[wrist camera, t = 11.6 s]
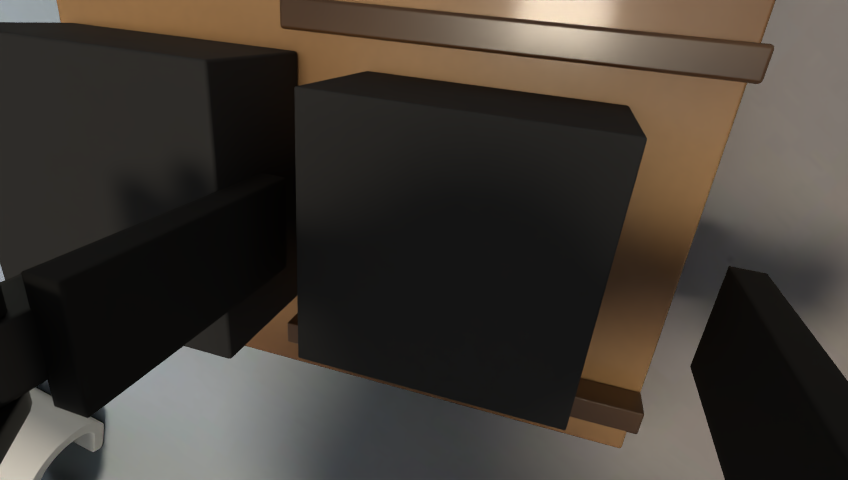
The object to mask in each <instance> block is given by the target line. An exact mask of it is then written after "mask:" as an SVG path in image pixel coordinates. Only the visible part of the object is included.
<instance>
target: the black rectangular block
mask: <svg viewBox="0 0 848 480" xmlns="http://www.w3.org/2000/svg"><path fill="white" fill-rule="evenodd" d="M294 98H295V167H296V236H297V305H298V357H299V358H302V359H305V360H309V361H313V362H316V363H320V364H324V365H327V366H331V367H335V368H338V369H342V370H346V371H349V372H353V373H356V374H360V375H364V376H367V377H371V378H375V379H378V380H382V381H386V382H389V383H393V384H397V385H400V386H404V387H408V388H411V389H415V390H419V391H422V392H426V393H429V394H433V395H437V396H440V397H444V398H448V399H451V400H455V401H459V402H462V403H466V404H470V405H473V406H477V407H481V408H484V409H488V410H491V411H495V412H499V413H502V414H506V415H510V416H513V417H517V418H521V419H524V420H528V421H532V422H535V423H539V424H543V425H546V426H550V427H554V428H557V429H561V430H566V428H567V424H568V421H569V417H570V414H571V410H572V407H573V403H574V399H575V396H576V392H577V389H578V385H579V382H580V378H581V374H582V371H583V367H584V364H585V360H586V356H587V353H588V349H589V346H590V342H591V339H592V335H593V331H594V328H595V324H596V321H597V317H598V314H599V310H600V306H601V303H602V299H603V296H604V292H605V289H606V285H607V281H608V278H609V274H610V271H611V267H612V263H613V260H614V256H615V253H616V249H617V246H618V242H619V238H620V235H621V231H622V228H623V224H624V221H625V217H626V213H627V210H628V206H629V203H630V199H631V196H632V192H633V188H634V185H635V181H636V178H637V174H638V170H639V167H640V163H641V160H642V156H643V153H644V149H645V145H646V142H647V137H646V135H645V134H644V132H643V130H642V128H641V127H640V125H639V123H638V121H637V120H636V118H635V116H634V114H633V113H632V111H631V109H630V107H629V106H627V105H620V104H612V103H605V102H597V101H590V100H582V99H575V98H567V97H560V96H552V95H545V94H537V93H530V92H522V91H515V90H507V89H499V88H492V87H484V86H477V85H469V84H462V83H454V82H447V81H439V80H432V79H424V78H417V77H409V76H402V75H394V74H387V73H379V72H372V71H365V72H360V73H355V74H351V75H346V76H341V77H337V78H332V79H327V80H323V81H318V82H313V83H309V84H304V85H299V86H295V88H294Z"/></svg>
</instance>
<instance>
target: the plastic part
mask: <svg viewBox="0 0 848 480" xmlns="http://www.w3.org/2000/svg"><path fill="white" fill-rule="evenodd" d="M29 392H30V396H31V399H32V406H31V411H30V413H29V415H28V416H27V418H26V420H25V422H24V424H23V425H22V427H21V429H20V431H19V432H18V434H17V436H16V438H15V439H14V441H13V443H12V445H11V447H10V448H9V450H8V452H7V454H6V455H5V457H4V459H3V461H2V463H1V464H0V480H41V478H42V476H43V474H44V473H45V471H46V469H47V468H48V467H49V465H50V464H51V463H52V461H53V460H54V459H55V458H56V457H57V455H58V454H59V453H60V452H61V451H62V450H63V449H64V448H66V447H67V446H68V445H69V444H70V443H71V442H74V443H76V444H78V445H80V446H82V447H84V448H86V449H87V450H89V451H91V452H94V451H96V450H98V449H100V448H101V446H102V443H103V432H104V424H103V423H102V422H100V421H98V420H96V419H94V418H92V417H89V418H86V417H83V416H80V415H77V414H75V413H72V412H69V411H66V410H64V409H61V408H58V407H55V406H54V403H53V399H52V396H51V395H49V394H47V393H45V392H43V391H41V390H39V389H37V388H33V389H32V390H30V391H29Z"/></svg>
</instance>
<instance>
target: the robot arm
mask: <svg viewBox="0 0 848 480" xmlns="http://www.w3.org/2000/svg"><path fill="white" fill-rule="evenodd" d="M285 268H287V233H286V178H285V177H280V176H275V175H270V174H265V173H260V174H257V175H255V176H252V177H250V178H247V179H245V180H243V181H240V182H238V183H235V184H233V185H230V186H228V187H226V188H223V189H221V190H218V191H216V192H213V193H211V194H209V195H206V196H204V197H201V198H199V199H197V200H194V201H192V202H189V203H187V204H184V205H182V206H180V207H177V208H175V209H172V210H170V211H167V212H165V213H163V214H160V215H158V216H155V217H153V218H150V219H148V220H146V221H143V222H141V223H138V224H136V225H134V226H131V227H129V228H126V229H124V230H121V231H119V232H117V233H114V234H112V235H109V236H107V237H104V238H102V239H100V240H97V241H95V242H92V243H90V244H87V245H85V246H83V247H80V248H78V249H75V250H73V251H71V252H68V253H66V254H63V255H61V256H58V257H56V258H54V259H51V260H49V261H46V262H44V263H41V264H39V265H37V266H34V267H32V268H29V269H27V270H24V271H22V272H21V274H19V275H17V276H14V277H12V278H10V279H7V280H5V281H2V282H0V464H1V463H2V461H3V459H4V457H5V455H6V454H7V452H8V450H9V448H10V447H11V445H12V443H13V441H14V439H15V438H16V436H17V434H18V432H19V431H20V429H21V427H22V425H23V424H24V422H25V420H26V418H27V416H28V415H29V413H30V411H31V406H32V399H31V396H30V392H29V391H30V390H32V389H33V388H35V387H36V386H38V385H40V384H41V383H43V382H44V381H46V380H48V383H49V387H50V391H51V395H52V399H53V403H54V406H55V407H58V408H61V409H64V410H66V411H69V412H72V413H75V414H77V415H80V416H83V417H86V418H89V417H90V416H91V415H93V414H94V413H95V412H97V411H98V410H99V409H101V408H102V407H103V406H105V405H106V404H107V403H109V402H110V401H111V400H113V399H114V398H115V397H117V396H118V395H119V394H121V393H122V392H123V391H124V390H126V389H127V388H128V387H130V386H131V385H132V384H134V383H135V382H136V381H138V380H139V379H140V378H142V377H143V376H144V375H146V374H147V373H148V372H150V371H151V370H152V369H153V368H155V367H156V366H157V365H159V364H160V363H161V362H163V361H164V360H165V359H167V358H168V357H169V356H171V355H172V354H173V353H175V352H176V351H177V350H179V349H180V348H181V347H182V346H184V345H185V344H186V343H188V342H189V341H190V340H192V339H193V338H194V337H196V336H197V335H198V334H200V333H201V332H202V331H204V330H205V329H206V328H208V327H209V326H210V325H211V324H213V323H214V322H215V321H217V320H218V319H219V318H221V317H222V316H223V315H225V314H226V313H227V312H229V311H230V310H231V309H233V308H234V307H235V306H237V305H238V304H239V303H240V302H242V301H243V300H244V299H246V298H247V297H248V296H250V295H251V294H252V293H254V292H255V291H256V290H258V289H259V288H260V287H262V286H263V285H264V284H266V283H267V282H268V281H269V280H271V279H272V278H273V277H275V276H276V275H277V274H279V273H280V272H281V271H283V270H284V269H285ZM690 367H691V370H692V373H693V377H694V380H695V383H696V386H697V390H698V393H699V396H700V400H701V403H702V406H703V409H704V413H705V416H706V419H707V422H708V426H709V429H710V432H711V435H712V439H713V442H714V445H715V449H716V452H717V455H718V458H719V462H720V465H721V468H722V471H723V475H724V478H725V480H848V381H847V380H846V378H845V377H844V376H843V374H842V373H841V372H840V370H839V369H838V368H837V366H836V365H835V364H834V362H833V361H832V360H831V358H830V357H829V356H828V354H827V353H826V352H825V350H824V349H823V348H822V346H821V345H820V344H819V342H818V341H817V340H816V338H815V337H814V336H813V334H812V333H811V332H810V330H809V329H808V328H807V326H806V325H805V324H804V322H803V321H802V320H801V318H800V317H799V316H798V314H797V313H796V312H795V310H794V309H793V308H792V306H791V305H790V304H789V302H788V301H787V300H786V298H785V297H784V296H783V294H782V293H781V292H780V290H779V289H778V288H777V286H776V285H775V284H774V282H773V281H772V280H771V278H770V277H769V276H768V274H766V273H761V272H756V271H751V270H746V269H741V268H736V267H731V266H729V267H728V270H727V273H726V275H725V278H724V280H723V283H722V286H721V288H720V291H719V293H718V296H717V299H716V301H715V304H714V306H713V309H712V312H711V314H710V317H709V319H708V322H707V325H706V327H705V330H704V332H703V335H702V338H701V340H700V343H699V345H698V348H697V351H696V353H695V356H694V358H693V361H692V363H691V366H690Z"/></svg>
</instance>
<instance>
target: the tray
mask: <svg viewBox="0 0 848 480" xmlns="http://www.w3.org/2000/svg"><path fill="white" fill-rule="evenodd" d="M775 1H776V0H57V5H58V10H59V15H60V21H61V23H78V24H85V25H93V26H101V27H109V28H117V29H125V30H133V31H141V32H149V33H157V34H165V35H172V36H180V37H188V38H196V39H204V40H212V41H220V42H228V43H236V44H244V45H252V46H259V47H267V48H275V49H283V50H291V51H295V52H296V53H297V86H299V85H304V84H309V83H313V82H318V81H323V80H327V79H332V78H337V77H341V76H346V75H351V74H355V73H360V72H365V71H372V72H379V73H387V74H394V75H402V76H409V77H417V78H424V79H432V80H439V81H447V82H454V83H462V84H469V85H477V86H484V87H492V88H499V89H507V90H515V91H522V92H530V93H537V94H545V95H552V96H560V97H567V98H575V99H582V100H590V101H597V102H605V103H612V104H620V105H627V106H629V107H630V109H631V111H632V113H633V114H634V116H635V118H636V120H637V121H638V123H639V125H640V127H641V128H642V130H643V132H644V134H645V135H646V137H647V142H646V145H645V149H644V153H643V156H642V160H641V163H640V167H639V170H638V174H637V178H636V181H635V185H634V188H633V192H632V196H631V199H630V203H629V206H628V210H627V213H626V217H625V221H624V224H623V228H622V231H621V235H620V238H619V242H618V246H617V249H616V253H615V256H614V260H613V263H612V267H611V271H610V274H609V278H608V281H607V285H606V289H605V292H604V296H603V299H602V303H601V306H600V310H599V314H598V317H597V321H596V324H595V328H594V331H593V335H592V339H591V342H590V346H589V349H588V353H587V356H586V360H585V364H584V367H583V371H582V374H581V378H580V382H579V385H578V389H577V392H576V396H575V399H574V403H573V407H572V410H571V414H570V417H569V421H568V424H567V428H566V430H561V429H557V428H554V427H550V426H546V425H543V424H539V423H535V422H532V421H528V420H524V419H521V418H517V417H513V416H510V415H506V414H502V413H499V412H495V411H491V410H488V409H484V408H481V407H477V406H473V405H470V404H466V403H462V402H459V401H455V400H451V399H448V398H444V397H440V396H437V395H433V394H429V393H426V392H422V391H419V390H415V389H411V388H408V387H404V386H400V385H397V384H393V383H389V382H386V381H382V380H378V379H375V378H371V377H367V376H364V375H360V374H356V373H353V372H349V371H346V370H342V369H338V368H335V367H331V366H327V365H324V364H320V363H316V362H313V361H309V360H305V359H302V358H299V357H298V305H297V296H296V297H295V298H294V299H293V300H292V301H291V302H290V303H289V304H288V305H287V306H286V307H285V308H284V309H283V310H282V311H280V312H279V313H278V314H277V315H276V316H275V317H274V318H273V319H272V320H271V321H270V322H269V323H268V324H267V325H266V326H265V327H264V328H263V329H262V330H260V331H259V332H258V333H257V334H256V335H255V336H254V337H253V338H252V339H251V340H250V341H249V342H248V343H247V344H246V345H245V346H248V347H252V348H256V349H259V350H263V351H266V352H270V353H274V354H277V355H281V356H285V357H288V358H292V359H296V360H299V361H303V362H307V363H310V364H314V365H318V366H321V367H325V368H329V369H332V370H336V371H339V372H343V373H347V374H350V375H354V376H358V377H361V378H365V379H369V380H372V381H376V382H380V383H383V384H387V385H391V386H394V387H398V388H402V389H405V390H409V391H412V392H416V393H420V394H423V395H427V396H431V397H434V398H438V399H442V400H445V401H449V402H453V403H456V404H460V405H464V406H467V407H471V408H475V409H478V410H482V411H485V412H489V413H493V414H496V415H500V416H504V417H507V418H511V419H515V420H518V421H522V422H526V423H529V424H533V425H537V426H540V427H544V428H548V429H551V430H555V431H558V432H562V433H566V434H569V435H573V436H577V437H580V438H584V439H588V440H591V441H595V442H599V443H602V444H606V445H610V446H613V447H617V448H621V447H622V444H623V441H624V438H625V435H626V432H630V433H634V434H637V433H638V430H639V427H640V425H641V422H642V419H643V416H644V412H643V405H642V399H641V394H640V392H641V389H642V386H643V383H644V380H645V377H646V374H647V372H648V369H649V366H650V363H651V360H652V357H653V354H654V351H655V348H656V345H657V343H658V340H659V337H660V334H661V331H662V328H663V325H664V322H665V319H666V316H667V314H668V311H669V308H670V305H671V302H672V299H673V296H674V293H675V290H676V287H677V285H678V282H679V279H680V276H681V273H682V270H683V267H684V264H685V261H686V259H687V256H688V253H689V250H690V247H691V244H692V241H693V238H694V235H695V232H696V230H697V227H698V224H699V221H700V218H701V215H702V212H703V209H704V206H705V203H706V201H707V198H708V195H709V192H710V189H711V186H712V183H713V180H714V177H715V174H716V172H717V169H718V166H719V163H720V160H721V157H722V154H723V151H724V148H725V145H726V143H727V140H728V137H729V134H730V131H731V128H732V125H733V122H734V119H735V117H736V114H737V111H738V108H739V105H740V102H741V99H742V96H743V93H744V90H745V88H746V85H747V83H753V84H759V83H761V82H762V81H763V79H764V76H765V73H766V70H767V68H768V65H769V62H770V59H771V56H772V54H773V51H774V46H773V45H771V44H765V43H761V41H762V38H763V35H764V32H765V30H766V27H767V24H768V21H769V18H770V15H771V12H772V9H773V6H774V4H775Z"/></svg>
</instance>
